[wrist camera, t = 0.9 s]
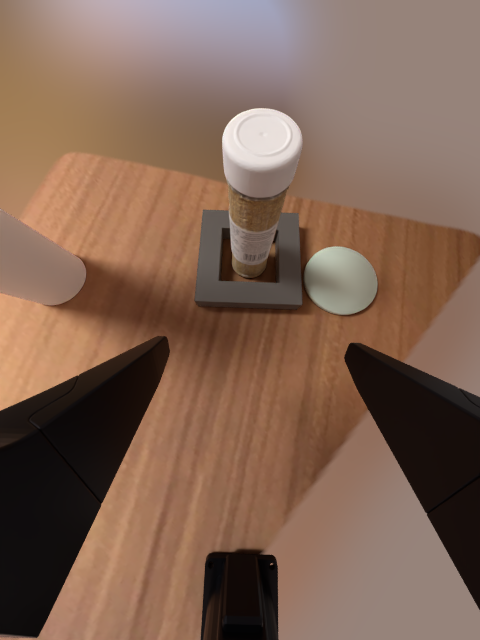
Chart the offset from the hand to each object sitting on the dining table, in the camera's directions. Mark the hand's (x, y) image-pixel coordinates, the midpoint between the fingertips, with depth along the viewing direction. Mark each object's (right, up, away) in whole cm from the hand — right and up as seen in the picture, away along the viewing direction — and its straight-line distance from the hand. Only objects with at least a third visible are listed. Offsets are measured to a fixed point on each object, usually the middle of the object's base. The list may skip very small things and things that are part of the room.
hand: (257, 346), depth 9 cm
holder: (0, +9, +14) cm, 16 cm away
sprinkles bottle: (0, +9, +14) cm, 17 cm away
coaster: (+12, +6, +14) cm, 19 cm away
